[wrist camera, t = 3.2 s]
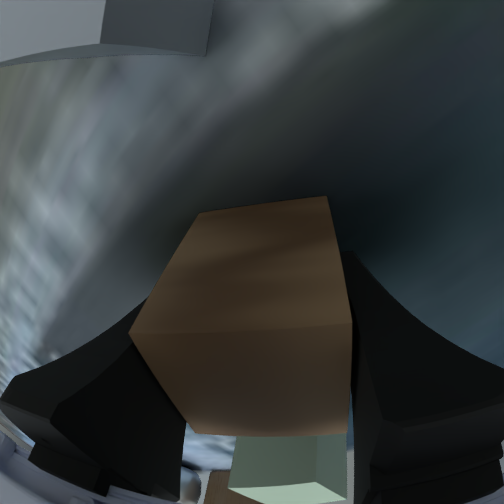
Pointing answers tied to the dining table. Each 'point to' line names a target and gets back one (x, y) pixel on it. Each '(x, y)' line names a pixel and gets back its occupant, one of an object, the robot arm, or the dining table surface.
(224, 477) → the wooden block
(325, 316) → the walnut block
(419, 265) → the dining table surface
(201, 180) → the dining table surface
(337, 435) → the sage block
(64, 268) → the dining table surface
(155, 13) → the grey block
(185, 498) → the plastic bottle
